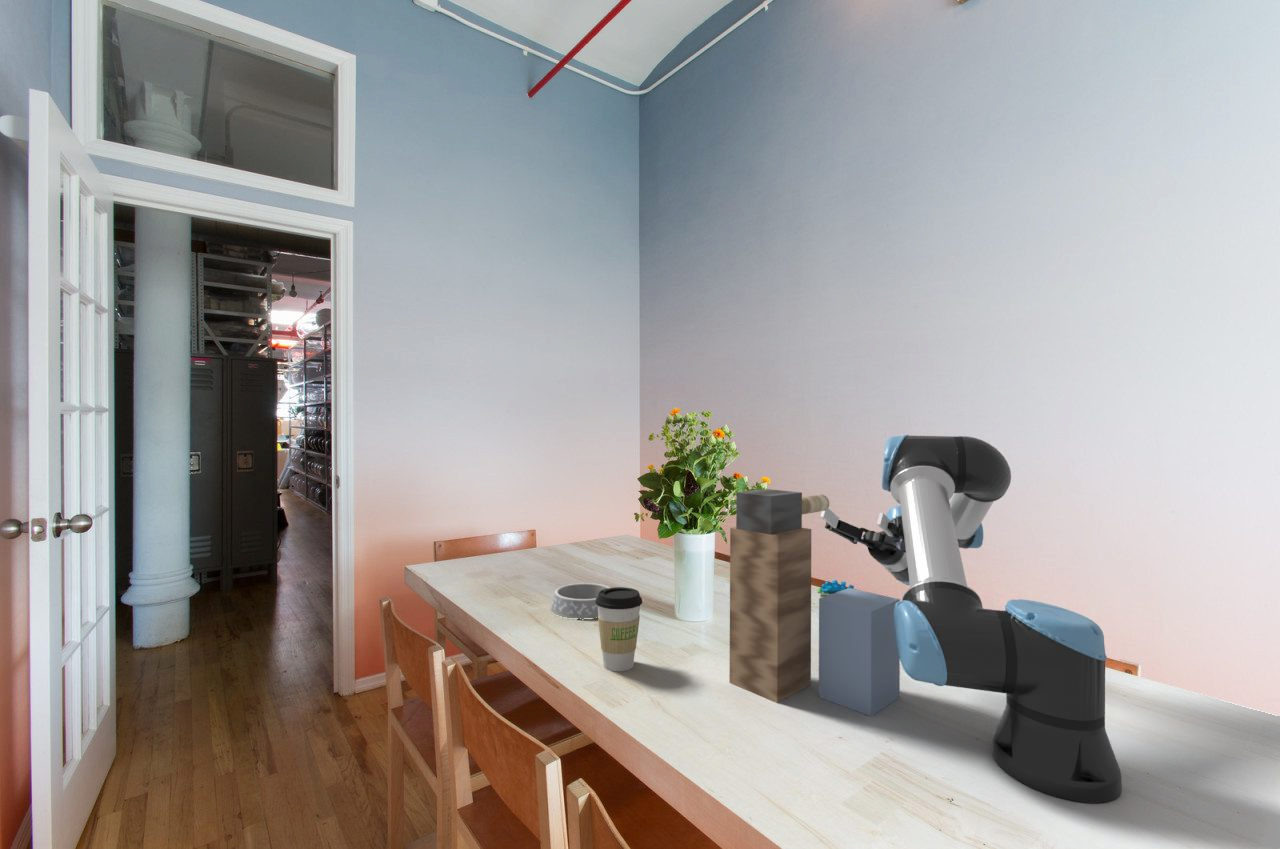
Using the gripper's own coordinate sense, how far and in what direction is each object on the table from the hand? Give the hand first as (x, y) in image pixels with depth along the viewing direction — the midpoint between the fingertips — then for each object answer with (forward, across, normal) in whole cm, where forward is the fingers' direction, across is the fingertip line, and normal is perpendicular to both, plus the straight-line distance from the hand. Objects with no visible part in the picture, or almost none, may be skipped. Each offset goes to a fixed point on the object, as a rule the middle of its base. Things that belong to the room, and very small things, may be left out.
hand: (850, 514), depth 130 cm
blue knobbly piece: (-40, +20, -12) cm, 46 cm away
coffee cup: (+24, +27, -49) cm, 61 cm away
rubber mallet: (+19, +1, -11) cm, 22 cm away
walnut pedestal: (+10, +1, -40) cm, 41 cm away
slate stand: (+2, -13, -36) cm, 39 cm away
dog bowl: (+10, +62, -41) cm, 75 cm away
